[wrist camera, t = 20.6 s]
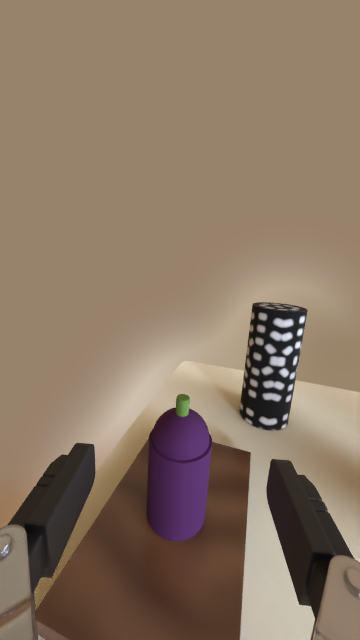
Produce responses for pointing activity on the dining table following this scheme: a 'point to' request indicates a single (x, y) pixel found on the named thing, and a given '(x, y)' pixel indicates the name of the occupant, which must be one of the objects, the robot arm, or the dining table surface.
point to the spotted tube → (271, 364)
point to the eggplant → (178, 472)
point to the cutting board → (156, 566)
